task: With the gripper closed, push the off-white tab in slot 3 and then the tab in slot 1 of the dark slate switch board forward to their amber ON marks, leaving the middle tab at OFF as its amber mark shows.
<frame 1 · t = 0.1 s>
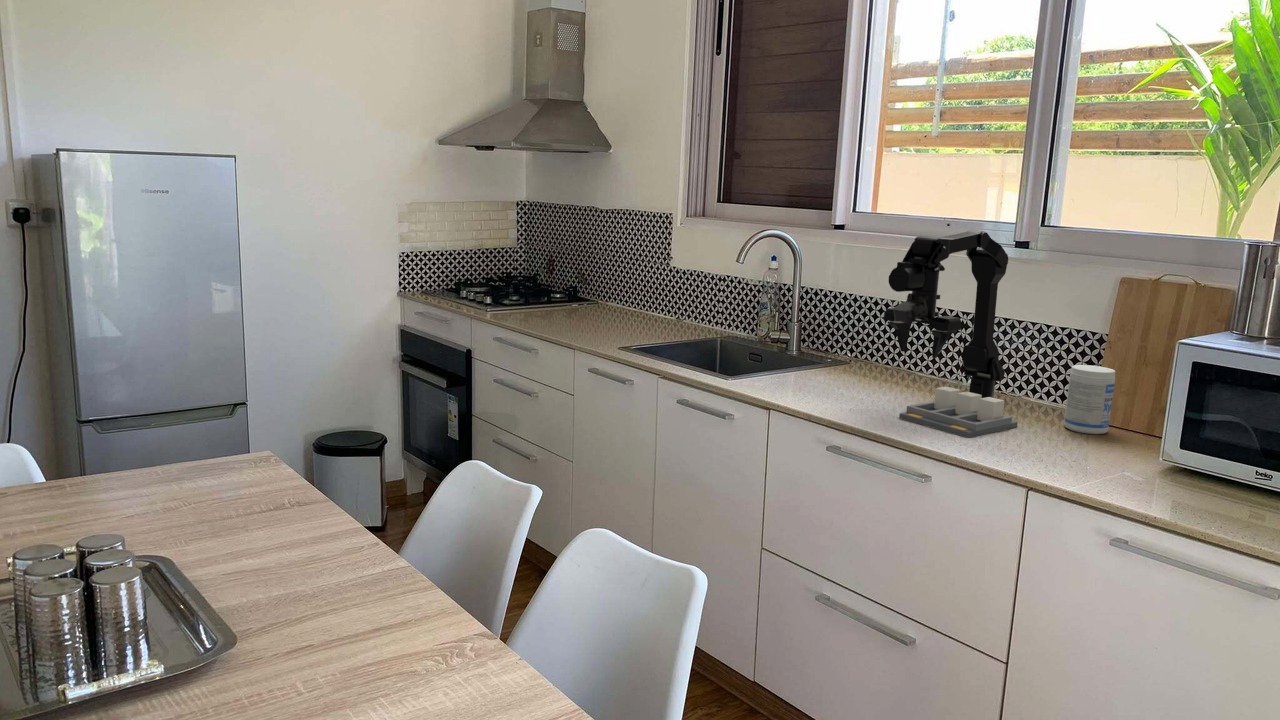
hand: (918, 354, 228), 15 cm above the table, fingers open, 9 cm apart
tab 3: (990, 410, 220), point 4 cm above the table, slide at 0.0 cm
tab 1: (946, 399, 230), point 4 cm above the table, slide at 0.0 cm
supplement tub: (1085, 430, 222), on the table
tab 2: (968, 404, 225), point 4 cm above the table, slide at 0.0 cm
switch board: (957, 422, 224), on the table
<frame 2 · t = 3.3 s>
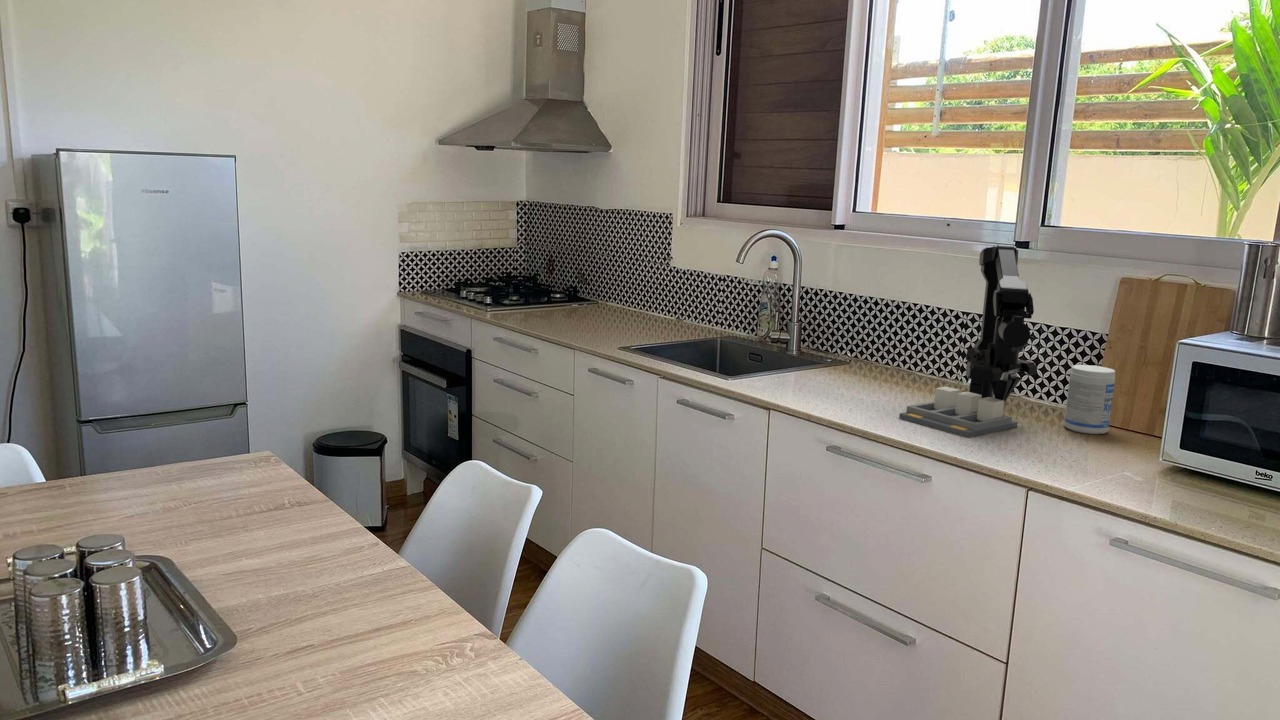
hand: (999, 405, 222), 5 cm above the table, fingers closed
tab 3: (990, 410, 220), point 4 cm above the table, slide at 0.1 cm, touching gripper
everything else where it was.
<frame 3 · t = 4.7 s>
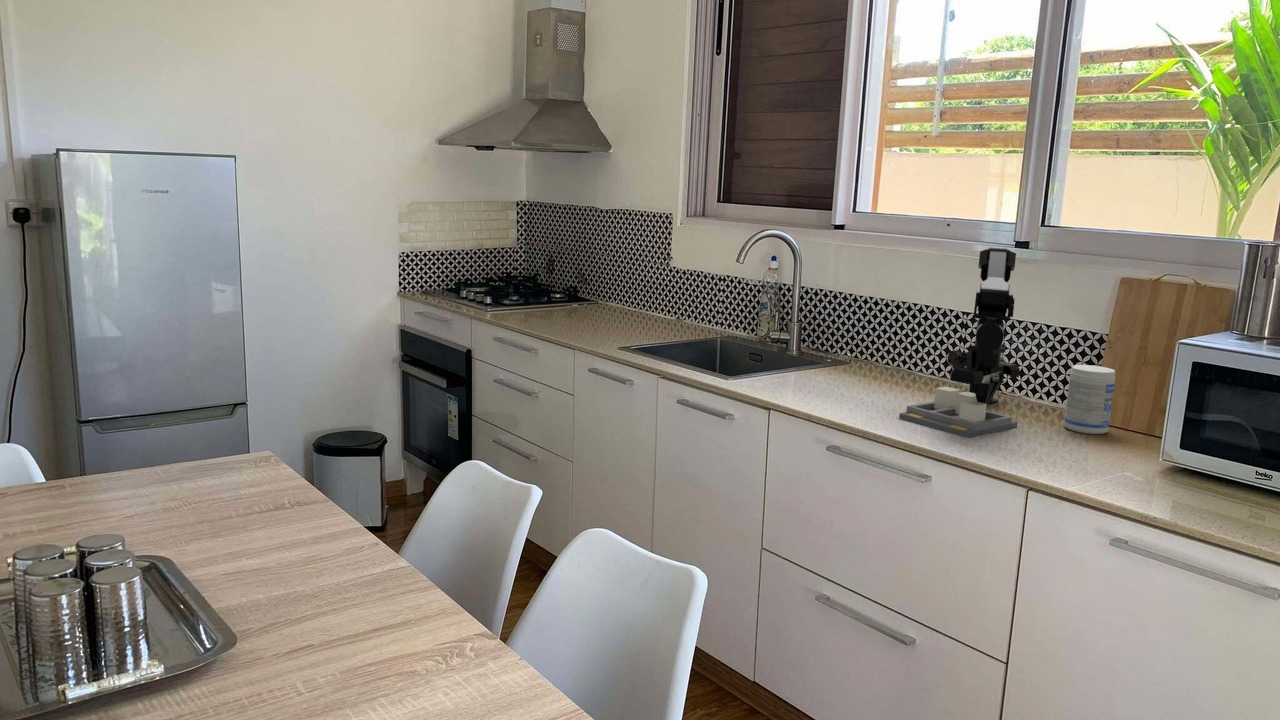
hand: (981, 409, 218), 5 cm above the table, fingers closed
tab 3: (972, 413, 216), point 4 cm above the table, slide at 7.1 cm, touching gripper
everything else where it was.
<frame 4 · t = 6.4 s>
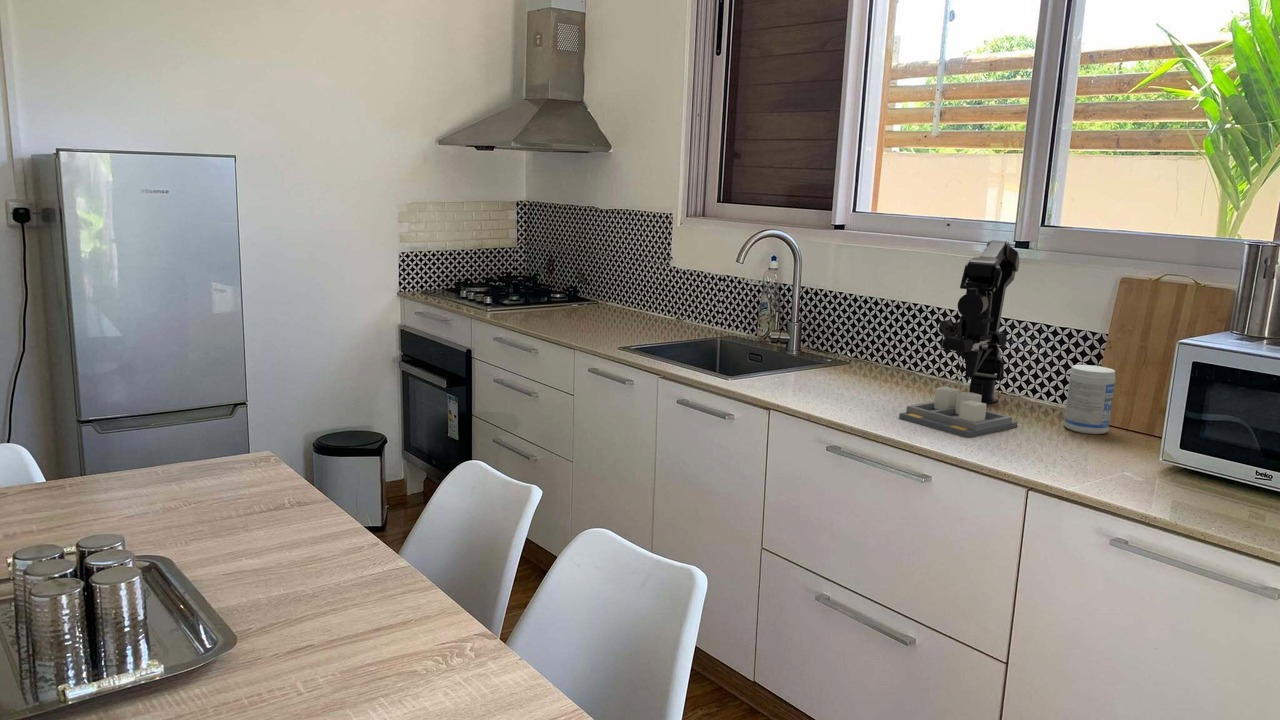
hand: (971, 375, 231), 10 cm above the table, fingers closed
tab 3: (972, 413, 216), point 4 cm above the table, slide at 7.1 cm
everything else where it was.
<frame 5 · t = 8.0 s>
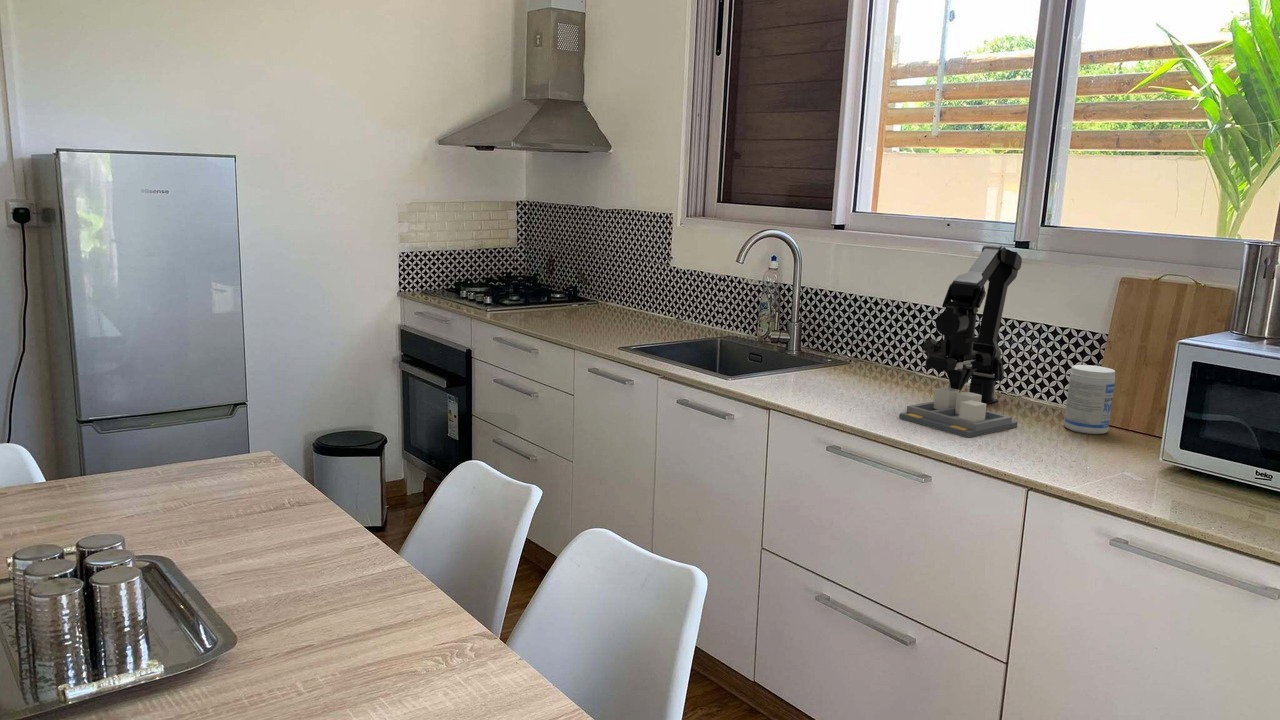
hand: (955, 395, 231), 5 cm above the table, fingers closed
tab 1: (946, 399, 230), point 4 cm above the table, slide at 0.2 cm, touching gripper
everything else where it was.
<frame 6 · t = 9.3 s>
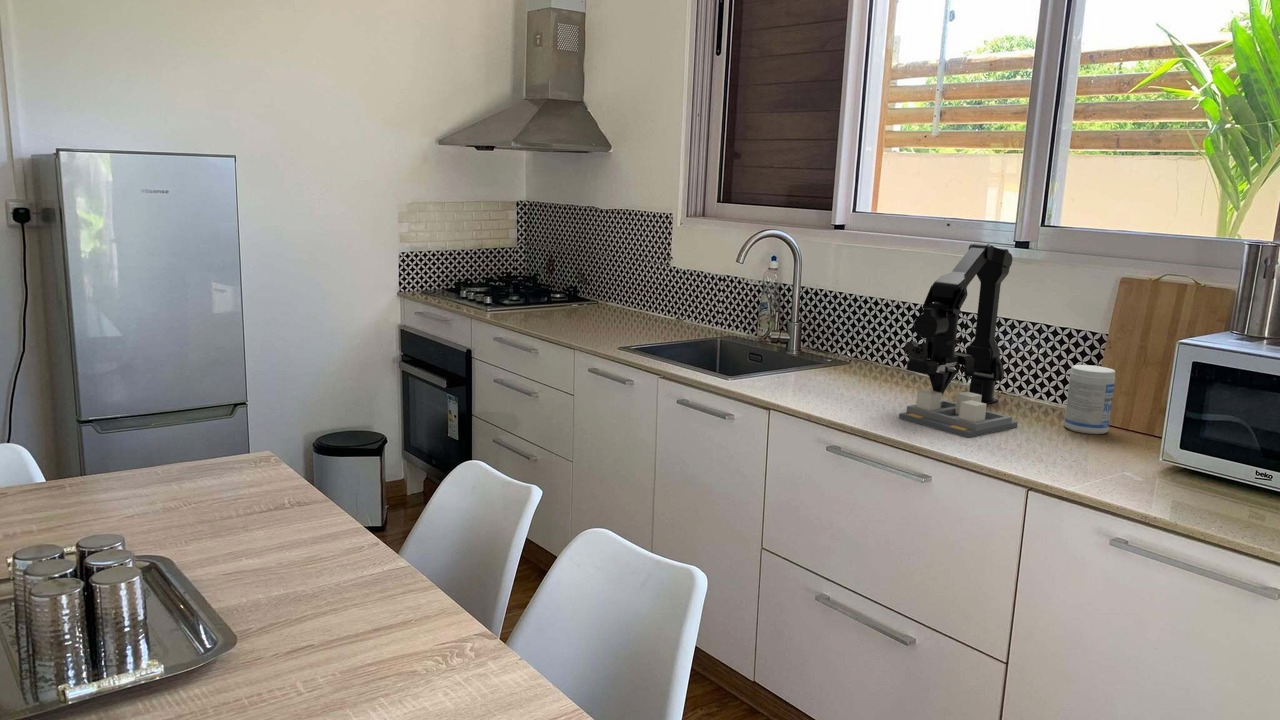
hand: (937, 398, 227), 5 cm above the table, fingers closed
tab 1: (928, 402, 226), point 4 cm above the table, slide at 7.1 cm, touching gripper
everything else where it was.
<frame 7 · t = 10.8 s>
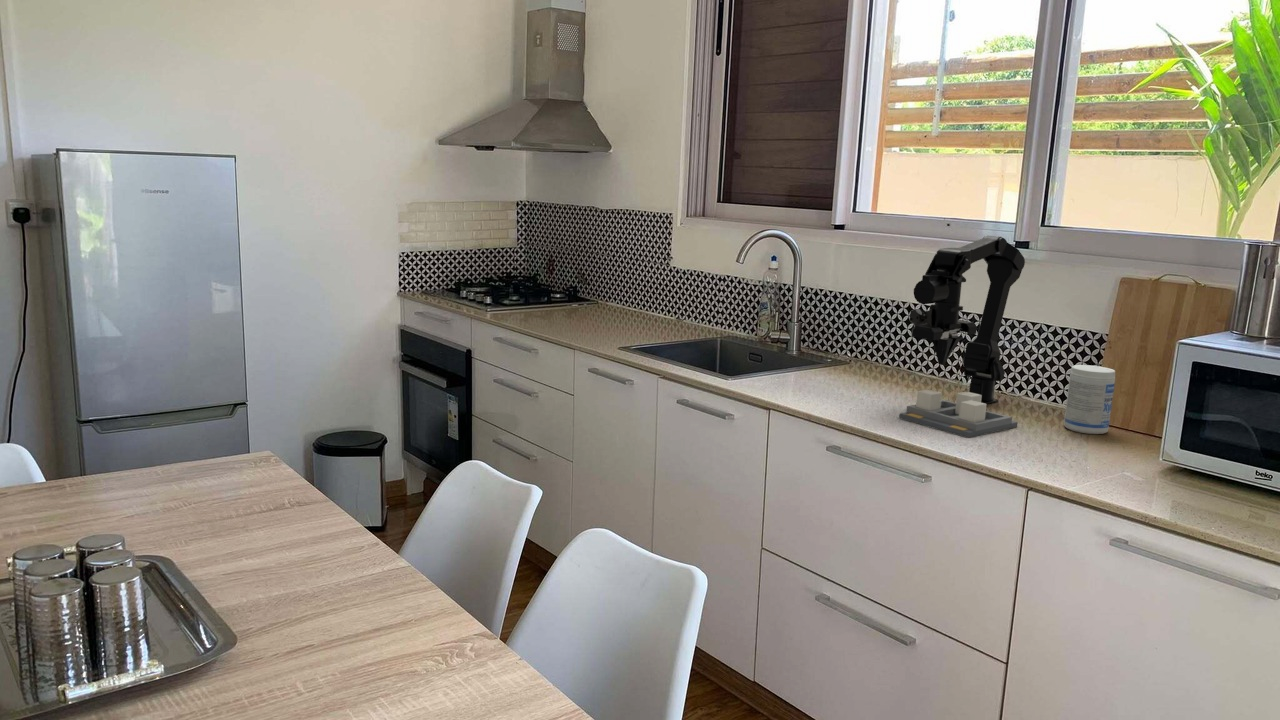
hand: (941, 364, 232), 12 cm above the table, fingers closed
tab 1: (928, 402, 226), point 4 cm above the table, slide at 7.1 cm
everything else where it was.
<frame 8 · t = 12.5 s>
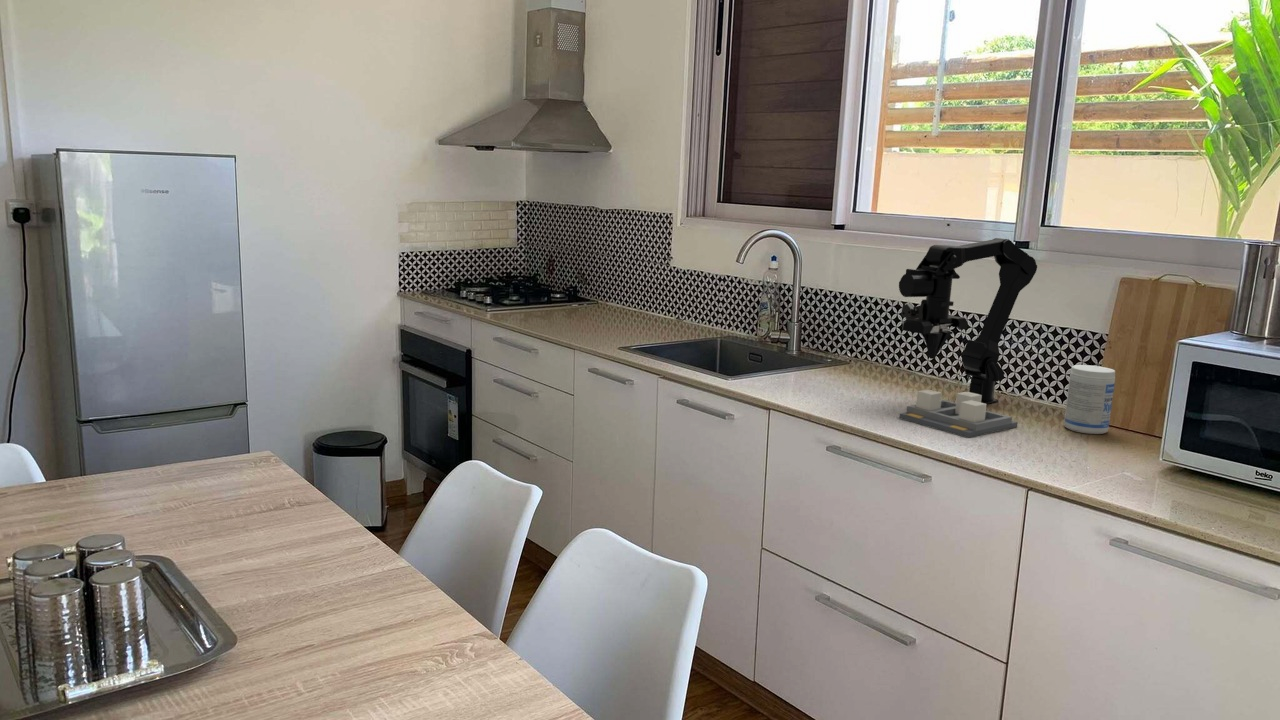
hand: (931, 358, 238), 12 cm above the table, fingers closed
nothing on the table moved.
at the end: tab 1 slide at 7.1 cm; tab 3 slide at 7.1 cm; tab 2 slide at 0.0 cm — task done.
